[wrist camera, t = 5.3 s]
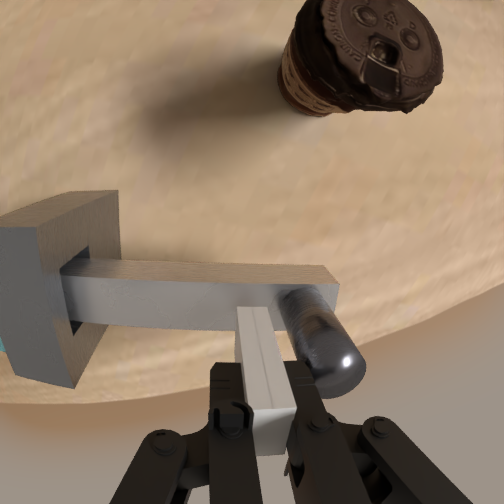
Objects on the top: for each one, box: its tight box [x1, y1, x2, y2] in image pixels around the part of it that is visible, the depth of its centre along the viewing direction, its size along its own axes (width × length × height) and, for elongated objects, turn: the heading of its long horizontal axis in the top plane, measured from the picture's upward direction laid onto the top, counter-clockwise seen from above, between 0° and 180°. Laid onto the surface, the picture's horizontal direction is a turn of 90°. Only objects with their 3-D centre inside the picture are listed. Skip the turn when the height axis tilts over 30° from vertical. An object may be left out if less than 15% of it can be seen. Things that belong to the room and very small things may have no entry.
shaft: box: [59, 258, 366, 399], centre depth 14 cm, size 26×3×9 cm, turn 87°
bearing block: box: [0, 190, 121, 389], centre depth 19 cm, size 5×10×13 cm, turn 177°
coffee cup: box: [277, 0, 444, 117], centre depth 16 cm, size 9×8×13 cm
